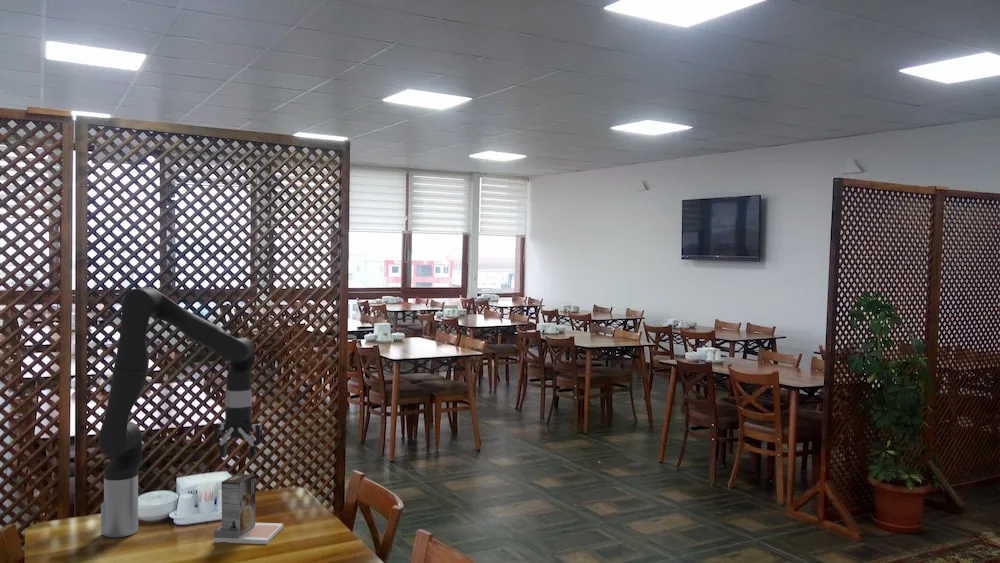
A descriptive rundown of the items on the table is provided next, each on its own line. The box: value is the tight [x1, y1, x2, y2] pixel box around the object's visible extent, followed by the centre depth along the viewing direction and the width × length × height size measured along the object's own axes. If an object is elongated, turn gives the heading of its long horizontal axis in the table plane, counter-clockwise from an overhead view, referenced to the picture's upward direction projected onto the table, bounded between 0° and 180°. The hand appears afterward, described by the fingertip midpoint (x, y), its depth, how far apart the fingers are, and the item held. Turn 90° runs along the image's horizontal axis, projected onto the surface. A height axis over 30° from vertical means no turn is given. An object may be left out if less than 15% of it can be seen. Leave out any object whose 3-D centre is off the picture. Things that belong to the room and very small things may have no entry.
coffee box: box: [221, 473, 256, 536], centre depth 229 cm, size 9×6×16 cm
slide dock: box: [213, 522, 284, 545], centre depth 229 cm, size 16×14×3 cm
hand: (238, 457), depth 228 cm, fingers open, 8 cm apart
